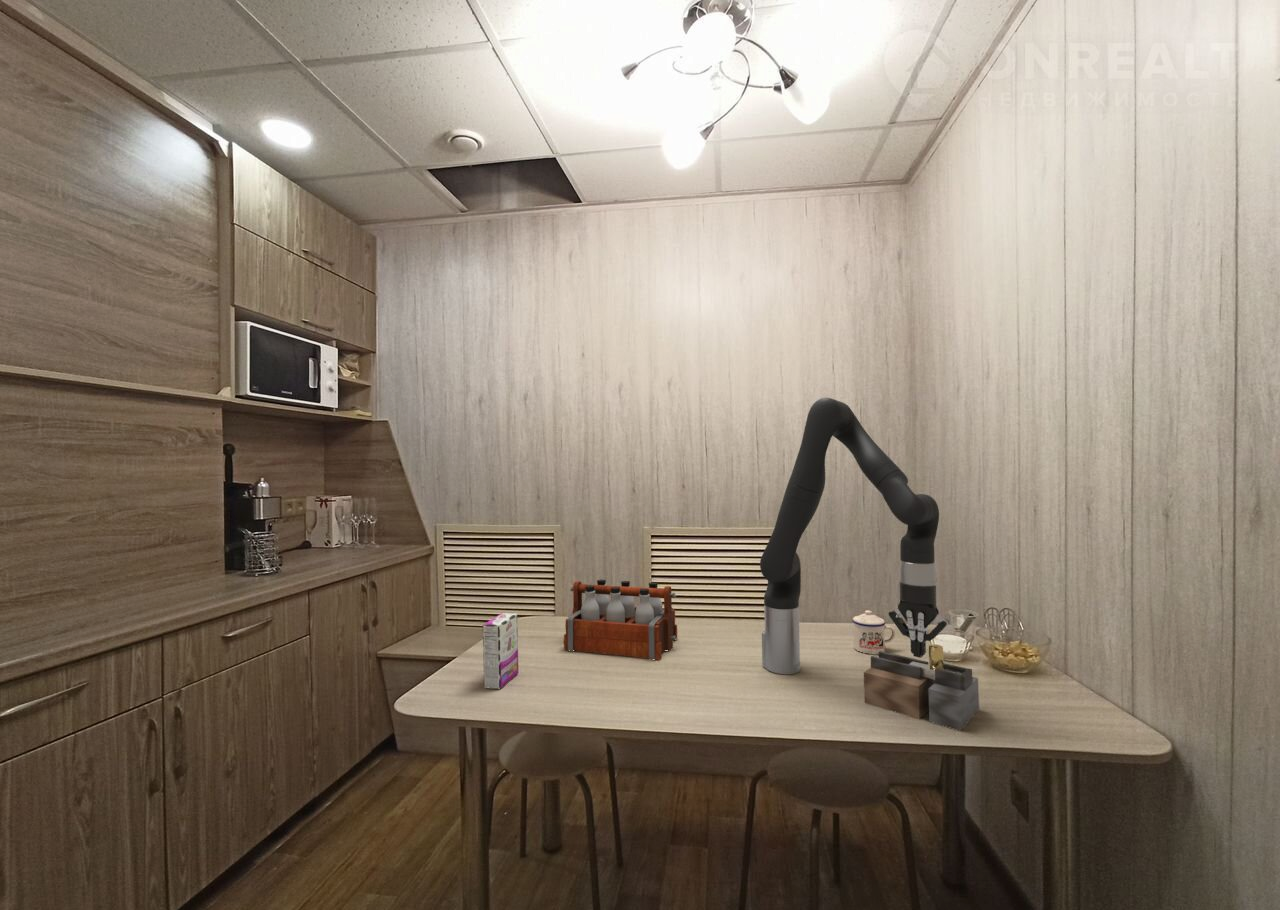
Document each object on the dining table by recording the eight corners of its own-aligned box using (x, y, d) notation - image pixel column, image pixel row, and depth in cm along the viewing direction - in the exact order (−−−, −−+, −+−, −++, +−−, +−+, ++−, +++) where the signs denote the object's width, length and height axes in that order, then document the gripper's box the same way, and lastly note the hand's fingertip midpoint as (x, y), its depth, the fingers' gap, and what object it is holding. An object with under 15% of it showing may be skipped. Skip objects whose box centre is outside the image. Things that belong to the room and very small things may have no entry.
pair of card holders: (864, 702, 126) (863, 659, 126) (887, 685, 136) (886, 645, 136) (960, 731, 112) (959, 682, 112) (979, 709, 122) (977, 664, 122)
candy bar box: (502, 672, 148) (501, 612, 149) (519, 673, 147) (518, 613, 148) (482, 689, 137) (481, 623, 138) (500, 690, 136) (499, 624, 137)
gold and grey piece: (908, 673, 124) (907, 642, 125) (913, 669, 127) (912, 639, 127) (962, 686, 117) (961, 653, 117) (966, 682, 119) (965, 650, 119)
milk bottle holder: (585, 631, 186) (584, 575, 186) (684, 640, 175) (683, 580, 175) (556, 651, 166) (556, 588, 166) (666, 662, 155) (665, 594, 155)
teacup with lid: (857, 654, 158) (856, 614, 159) (849, 644, 167) (848, 606, 168) (900, 655, 157) (899, 615, 157) (890, 645, 166) (889, 607, 166)
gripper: (881, 579, 127) (882, 653, 127) (944, 588, 117) (945, 668, 117) (893, 574, 132) (894, 645, 132) (954, 582, 123) (955, 659, 122)
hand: (918, 656), depth 124 cm, fingers closed
